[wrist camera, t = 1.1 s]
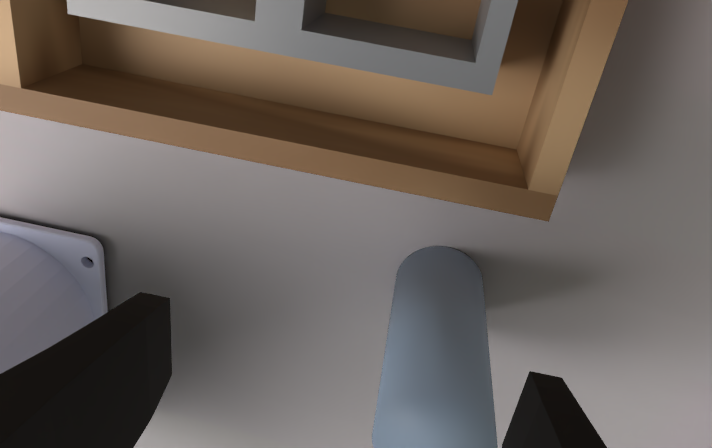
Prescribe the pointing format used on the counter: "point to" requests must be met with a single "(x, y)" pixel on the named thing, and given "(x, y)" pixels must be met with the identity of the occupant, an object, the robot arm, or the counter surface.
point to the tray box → (329, 97)
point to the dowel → (436, 357)
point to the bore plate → (326, 35)
